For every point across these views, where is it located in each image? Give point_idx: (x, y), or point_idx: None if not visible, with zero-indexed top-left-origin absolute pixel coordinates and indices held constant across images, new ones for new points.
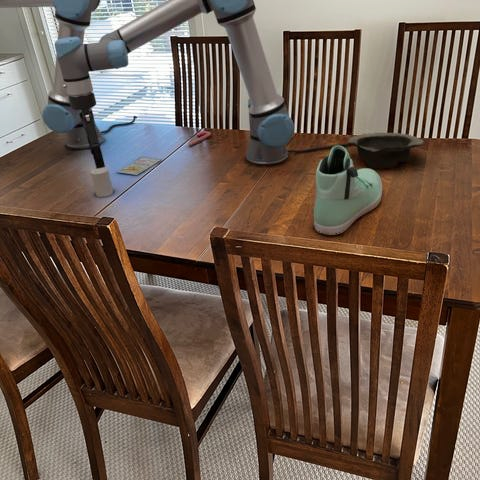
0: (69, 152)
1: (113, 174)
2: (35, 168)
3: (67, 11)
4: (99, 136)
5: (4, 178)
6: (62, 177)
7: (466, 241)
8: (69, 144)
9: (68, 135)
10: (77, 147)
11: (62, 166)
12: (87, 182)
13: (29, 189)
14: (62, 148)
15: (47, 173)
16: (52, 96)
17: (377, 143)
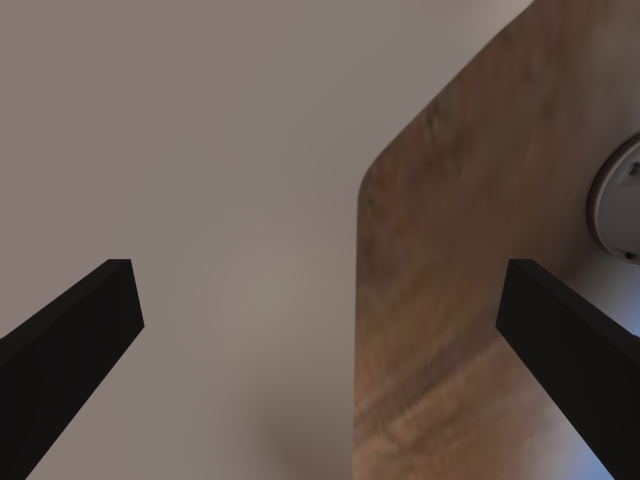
0: (572, 260)
1: (600, 463)
2: (442, 339)
3: None
4: None
5: (354, 365)
6: (492, 427)
7: None
8: (601, 234)
9: (636, 235)
10: (612, 254)
11: (514, 362)
12: (533, 474)
13: (408, 452)
14: (566, 203)
15: (465, 388)
16: None
17: None
